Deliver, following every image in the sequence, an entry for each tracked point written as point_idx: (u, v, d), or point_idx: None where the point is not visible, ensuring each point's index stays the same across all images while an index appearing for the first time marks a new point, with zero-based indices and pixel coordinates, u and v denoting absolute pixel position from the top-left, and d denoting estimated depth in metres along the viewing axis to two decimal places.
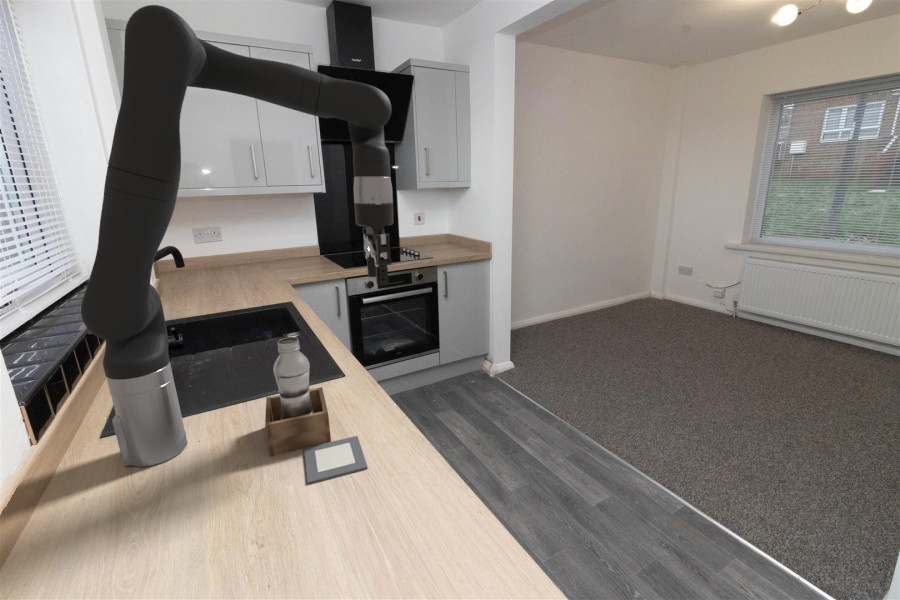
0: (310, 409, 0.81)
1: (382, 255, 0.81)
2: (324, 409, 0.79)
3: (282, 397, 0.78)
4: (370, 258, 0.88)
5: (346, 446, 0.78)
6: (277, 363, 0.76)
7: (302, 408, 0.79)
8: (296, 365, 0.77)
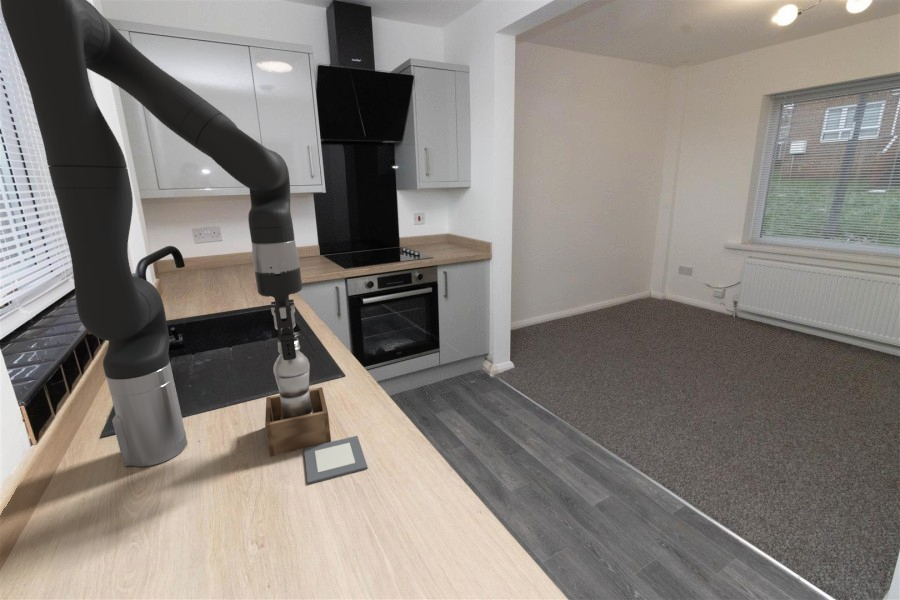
0: (310, 409, 0.81)
1: (287, 327, 0.73)
2: (324, 409, 0.79)
3: (282, 397, 0.78)
4: None
5: (346, 446, 0.78)
6: (277, 363, 0.76)
7: (302, 408, 0.79)
8: (296, 365, 0.77)
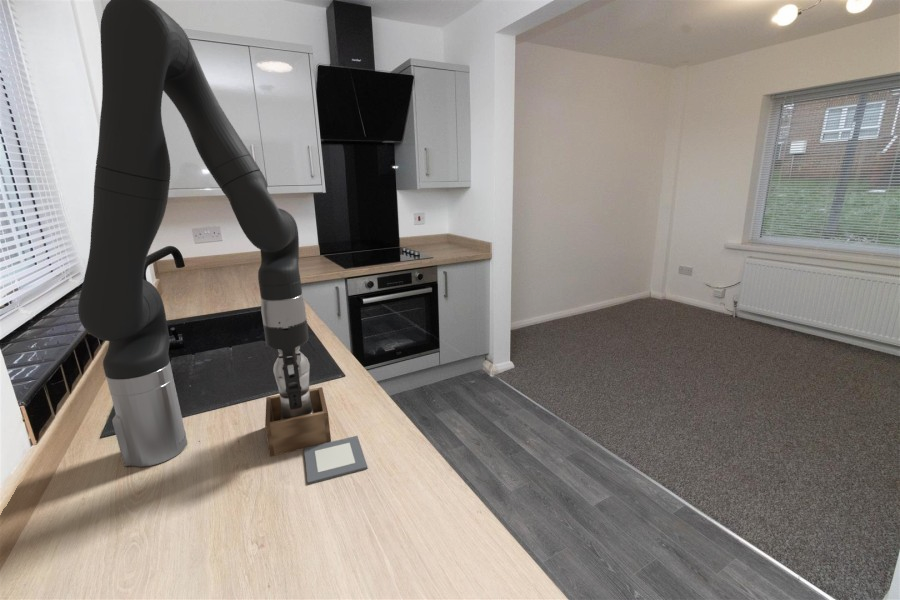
0: (310, 409, 0.81)
1: None
2: (324, 409, 0.79)
3: (282, 397, 0.78)
4: None
5: (346, 446, 0.78)
6: (277, 363, 0.76)
7: (302, 408, 0.79)
8: None
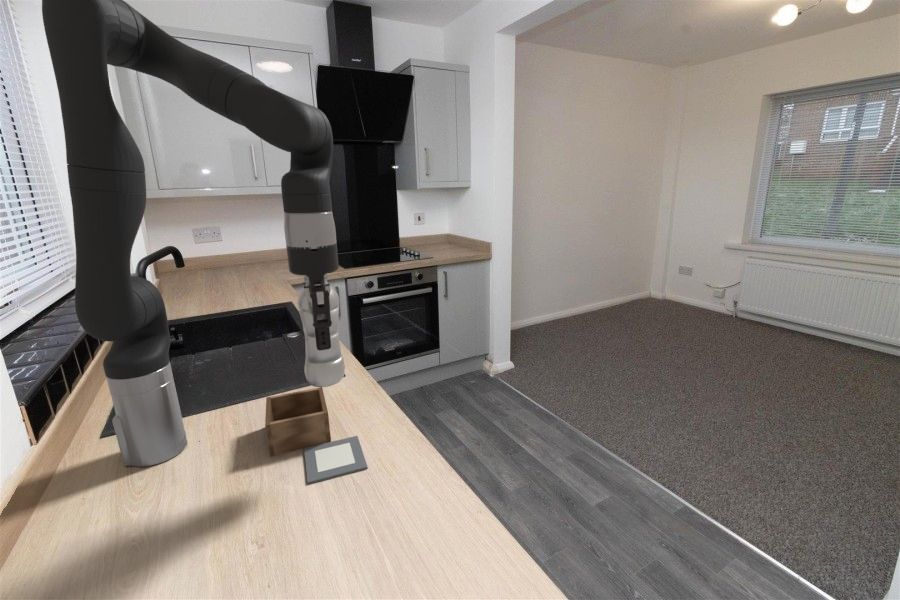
0: (339, 353, 0.69)
1: None
2: (324, 409, 0.79)
3: (308, 336, 0.66)
4: None
5: (346, 446, 0.78)
6: (303, 294, 0.64)
7: (330, 350, 0.67)
8: None
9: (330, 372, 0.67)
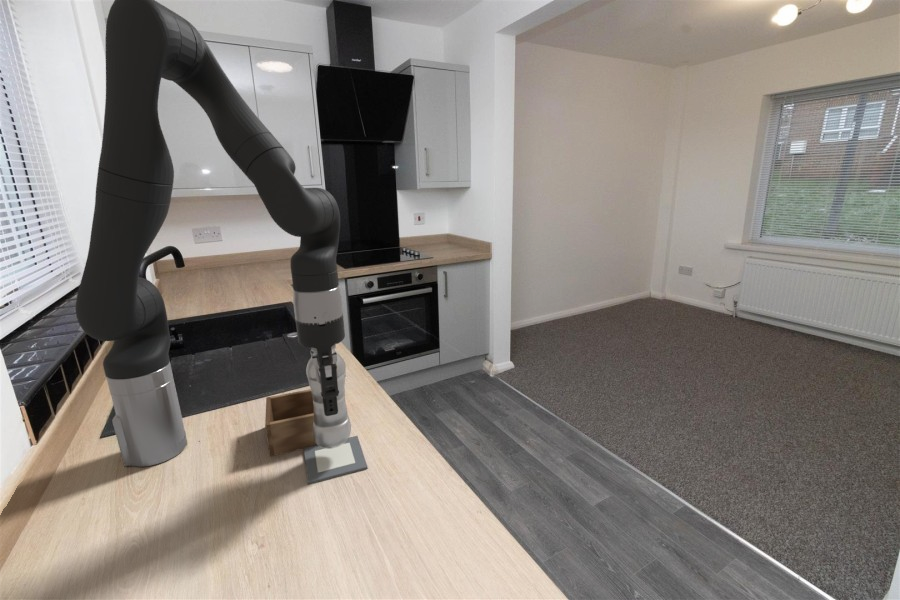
0: (346, 415, 0.72)
1: None
2: None
3: (316, 402, 0.69)
4: None
5: (346, 446, 0.78)
6: (311, 364, 0.68)
7: (337, 414, 0.70)
8: None
9: (337, 434, 0.71)
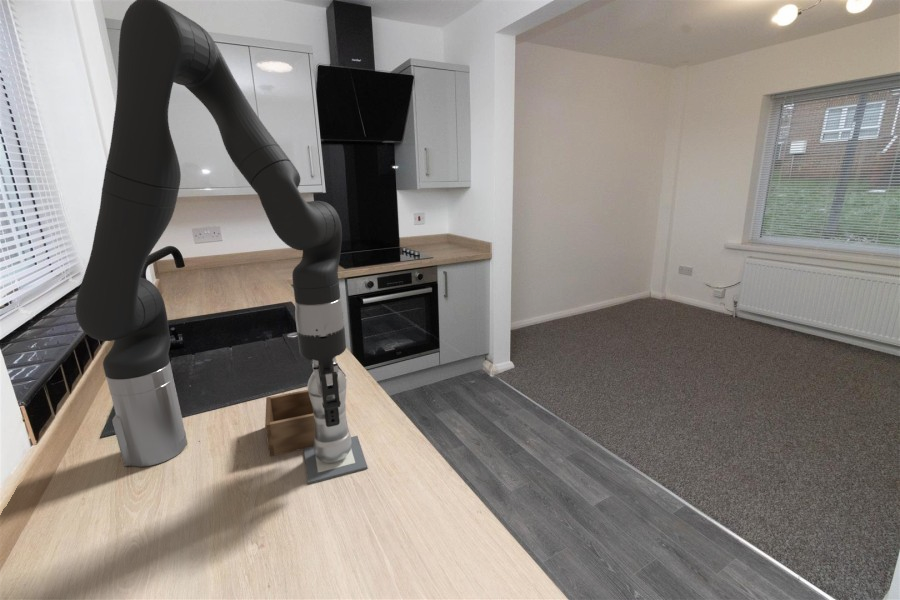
0: (346, 430, 0.73)
1: None
2: None
3: (317, 417, 0.70)
4: None
5: None
6: (312, 380, 0.69)
7: (338, 429, 0.71)
8: None
9: (338, 449, 0.71)
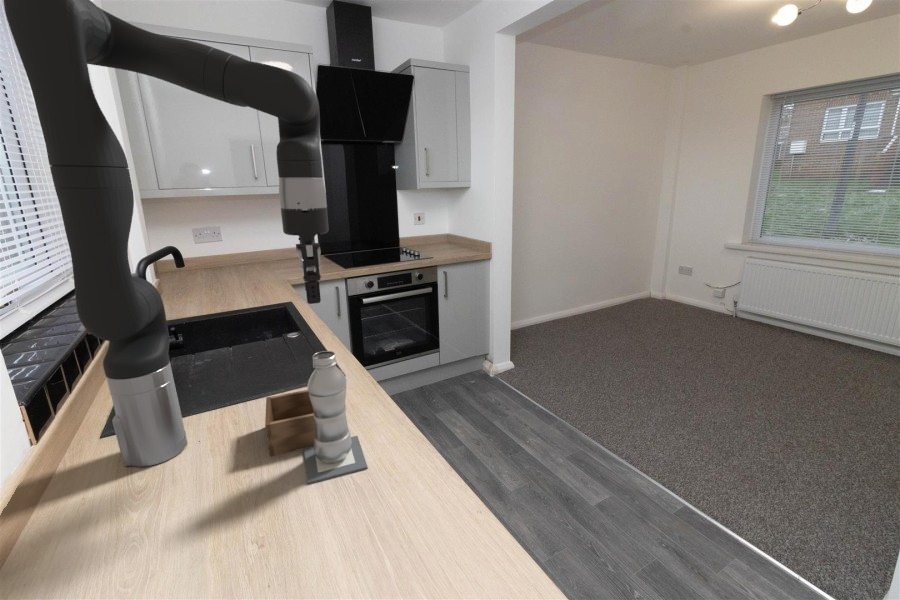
0: (346, 430, 0.73)
1: (313, 268, 0.70)
2: None
3: (317, 417, 0.70)
4: (307, 270, 0.77)
5: None
6: (312, 380, 0.69)
7: (338, 429, 0.71)
8: (334, 383, 0.69)
9: (338, 449, 0.71)
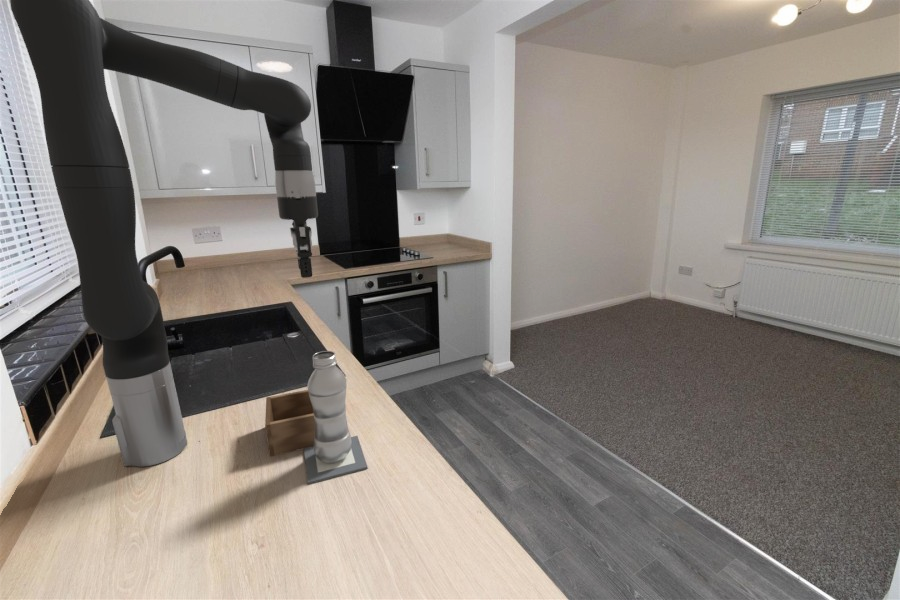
0: (346, 430, 0.73)
1: (305, 247, 0.83)
2: None
3: (317, 417, 0.70)
4: None
5: None
6: (312, 380, 0.69)
7: (338, 429, 0.71)
8: (334, 383, 0.69)
9: (338, 449, 0.71)
